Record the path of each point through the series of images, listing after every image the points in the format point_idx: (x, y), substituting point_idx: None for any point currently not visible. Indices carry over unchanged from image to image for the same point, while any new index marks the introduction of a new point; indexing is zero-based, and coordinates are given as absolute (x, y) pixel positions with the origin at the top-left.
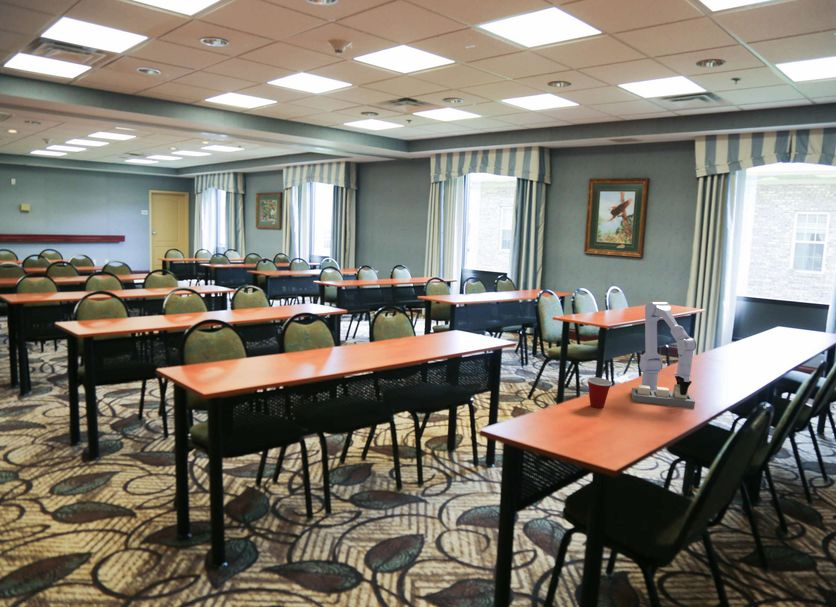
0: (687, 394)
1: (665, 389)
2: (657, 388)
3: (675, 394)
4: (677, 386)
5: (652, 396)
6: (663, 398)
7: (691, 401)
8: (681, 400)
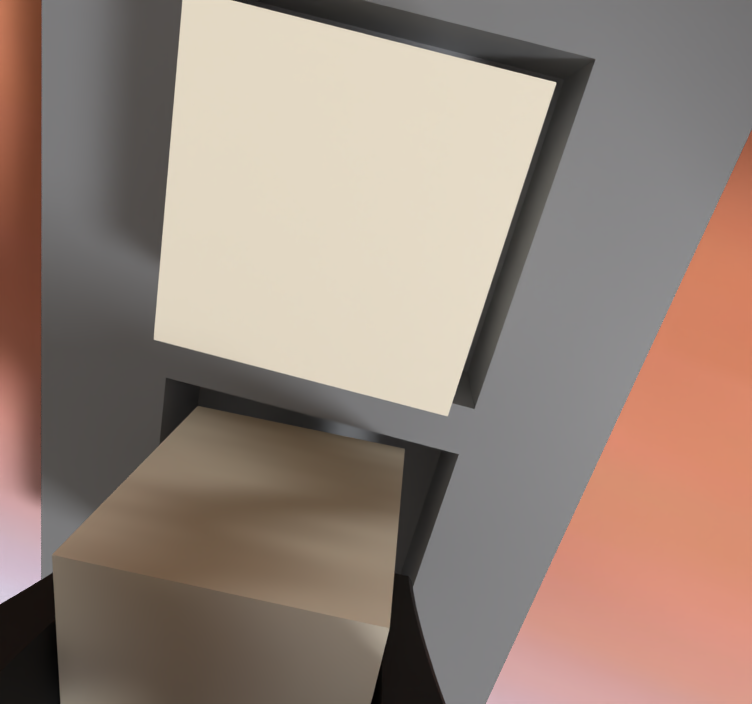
0: (439, 675)
1: (250, 274)
2: (312, 27)
3: (178, 436)
4: (120, 607)
5: None
6: (45, 119)
7: (43, 565)
8: (44, 439)
